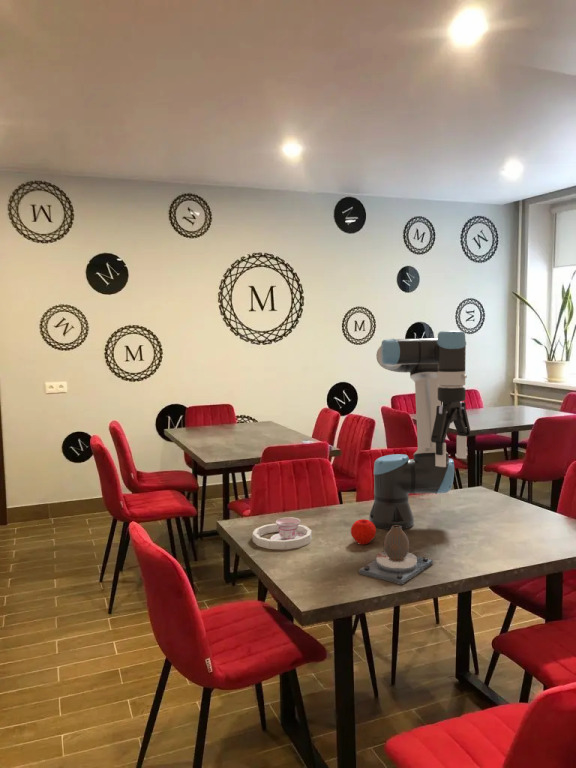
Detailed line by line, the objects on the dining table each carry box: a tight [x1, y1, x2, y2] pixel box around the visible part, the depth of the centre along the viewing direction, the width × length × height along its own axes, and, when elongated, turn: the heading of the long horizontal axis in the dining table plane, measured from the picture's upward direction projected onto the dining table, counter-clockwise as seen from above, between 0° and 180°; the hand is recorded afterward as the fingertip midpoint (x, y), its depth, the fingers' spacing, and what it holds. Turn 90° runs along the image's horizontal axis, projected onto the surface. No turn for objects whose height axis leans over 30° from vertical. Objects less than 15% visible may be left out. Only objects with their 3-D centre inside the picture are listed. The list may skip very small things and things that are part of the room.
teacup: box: [269, 516, 304, 540], centre depth 196 cm, size 12×12×6 cm
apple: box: [350, 518, 377, 546], centre depth 191 cm, size 8×8×7 cm
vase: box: [383, 525, 410, 560], centre depth 169 cm, size 7×7×9 cm
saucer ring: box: [251, 523, 313, 550], centre depth 196 cm, size 18×18×2 cm
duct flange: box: [358, 551, 434, 585], centre depth 169 cm, size 13×18×3 cm
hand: (451, 462), depth 172 cm, fingers open, 13 cm apart
